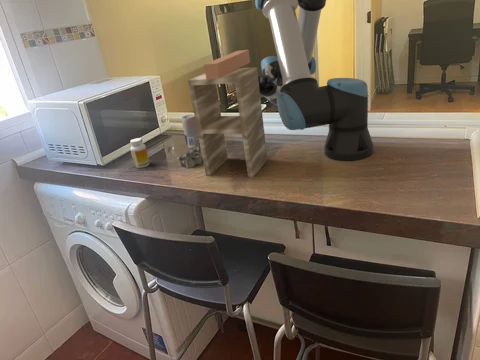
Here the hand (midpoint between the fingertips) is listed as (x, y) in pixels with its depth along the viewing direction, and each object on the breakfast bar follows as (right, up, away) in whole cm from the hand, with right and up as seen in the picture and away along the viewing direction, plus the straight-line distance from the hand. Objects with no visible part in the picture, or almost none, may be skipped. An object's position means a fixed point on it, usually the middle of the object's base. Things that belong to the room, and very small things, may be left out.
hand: (247, 68), depth 128 cm
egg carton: (-19, -32, +6) cm, 37 cm away
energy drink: (-20, -25, +20) cm, 38 cm away
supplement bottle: (-38, -32, +9) cm, 51 cm away
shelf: (-3, -33, -5) cm, 34 cm away
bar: (-6, -4, -13) cm, 15 cm away
